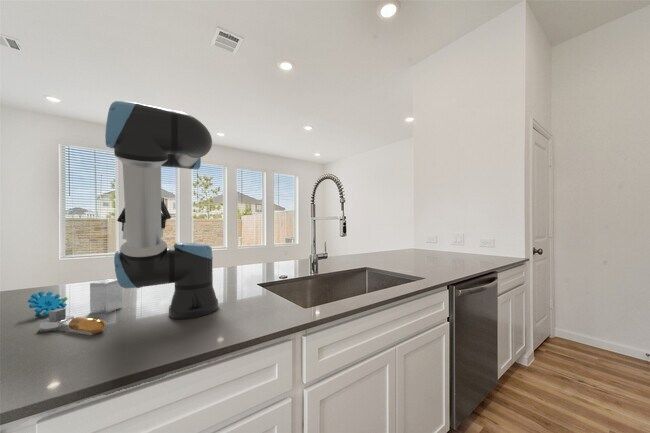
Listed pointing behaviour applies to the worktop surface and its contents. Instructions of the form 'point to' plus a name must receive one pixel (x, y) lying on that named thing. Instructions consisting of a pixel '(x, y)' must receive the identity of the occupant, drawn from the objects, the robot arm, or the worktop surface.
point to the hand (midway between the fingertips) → (142, 238)
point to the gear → (46, 302)
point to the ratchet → (71, 323)
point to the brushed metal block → (105, 296)
